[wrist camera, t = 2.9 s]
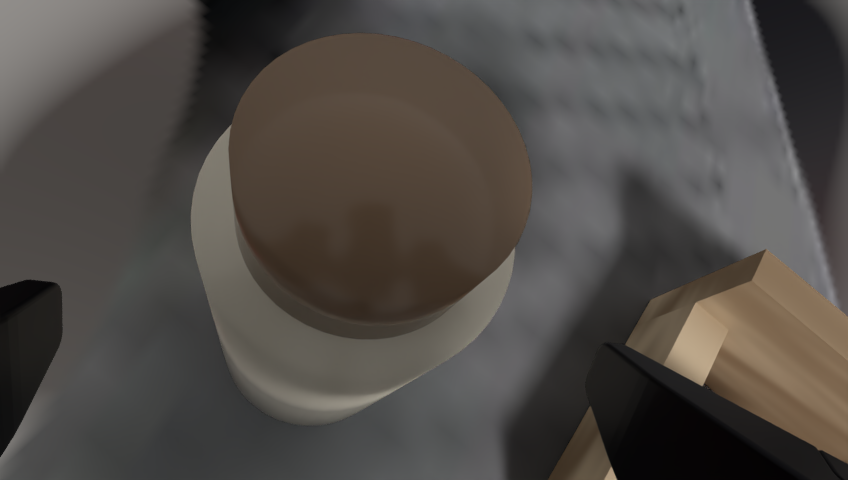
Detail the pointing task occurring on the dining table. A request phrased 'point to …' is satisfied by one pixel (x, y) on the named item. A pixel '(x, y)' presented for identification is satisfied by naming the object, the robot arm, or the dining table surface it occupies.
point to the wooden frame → (743, 355)
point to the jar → (356, 223)
